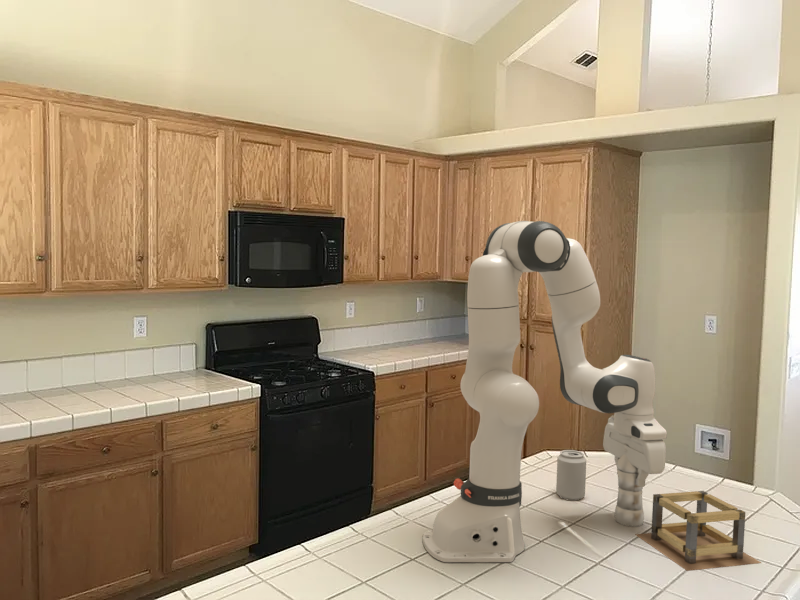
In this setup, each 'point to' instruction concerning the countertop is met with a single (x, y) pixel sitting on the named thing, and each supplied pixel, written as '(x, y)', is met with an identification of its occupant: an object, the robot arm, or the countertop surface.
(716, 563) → the walnut board
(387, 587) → the countertop surface
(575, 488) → the can
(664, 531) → the frame
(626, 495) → the plastic bottle
